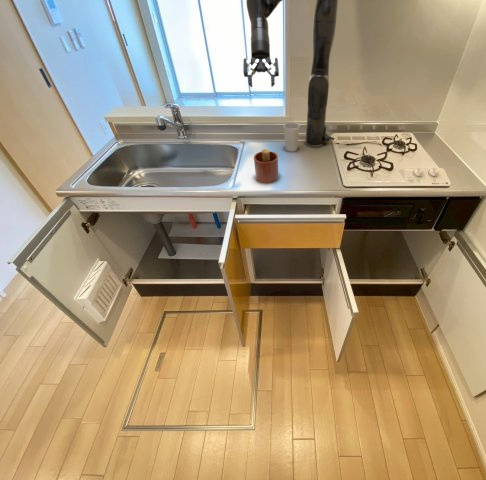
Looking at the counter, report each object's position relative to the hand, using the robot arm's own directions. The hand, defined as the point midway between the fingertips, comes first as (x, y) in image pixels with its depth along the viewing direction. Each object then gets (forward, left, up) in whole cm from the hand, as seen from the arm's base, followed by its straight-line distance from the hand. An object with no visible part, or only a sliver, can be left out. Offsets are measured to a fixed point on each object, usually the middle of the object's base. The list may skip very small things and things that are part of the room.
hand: (261, 85), depth 108 cm
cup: (-15, -8, -33) cm, 37 cm away
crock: (+3, +16, -33) cm, 36 cm away
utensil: (+3, +16, -32) cm, 36 cm away
